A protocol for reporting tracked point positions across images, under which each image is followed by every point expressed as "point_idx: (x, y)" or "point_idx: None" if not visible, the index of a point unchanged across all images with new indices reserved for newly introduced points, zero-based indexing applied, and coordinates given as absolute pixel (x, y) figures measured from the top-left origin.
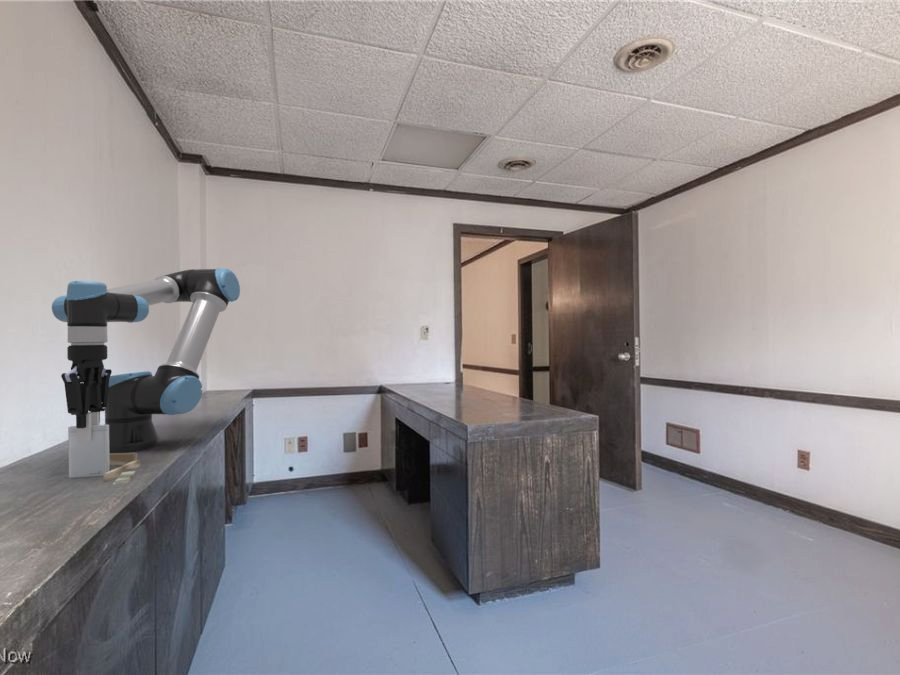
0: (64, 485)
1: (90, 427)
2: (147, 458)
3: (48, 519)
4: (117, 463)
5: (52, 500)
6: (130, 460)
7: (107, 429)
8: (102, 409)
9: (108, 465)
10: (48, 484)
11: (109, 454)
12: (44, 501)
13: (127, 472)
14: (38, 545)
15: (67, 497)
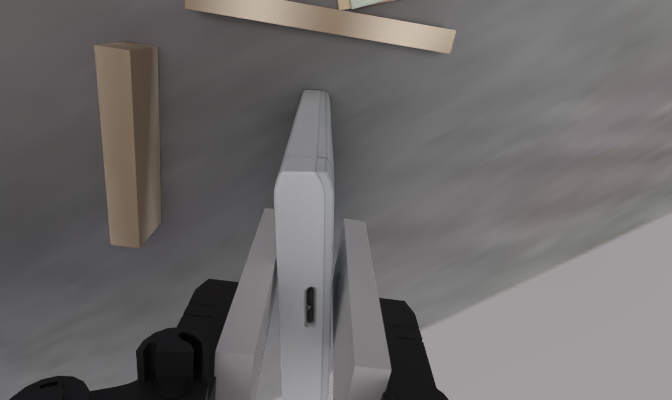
0: (426, 191)
1: (359, 272)
2: (15, 34)
3: None
4: (154, 128)
5: (625, 130)
6: (146, 65)
7: (313, 157)
8: (191, 351)
9: (313, 97)
10: (390, 252)
11: (127, 183)
12: (623, 152)
13: None
14: None
15: (613, 93)
